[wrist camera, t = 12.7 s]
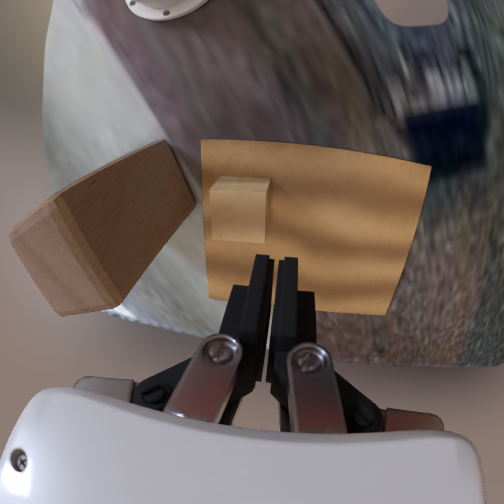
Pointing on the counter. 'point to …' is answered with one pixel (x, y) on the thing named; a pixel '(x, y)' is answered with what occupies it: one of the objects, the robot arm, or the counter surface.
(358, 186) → the wooden board
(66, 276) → the block
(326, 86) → the counter surface
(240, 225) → the oak cube
